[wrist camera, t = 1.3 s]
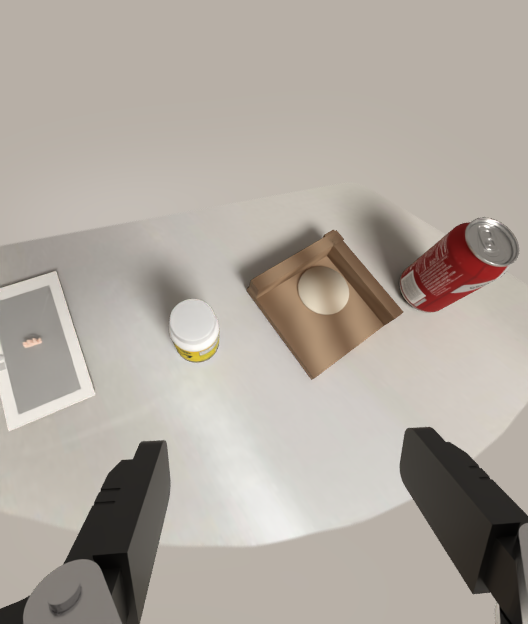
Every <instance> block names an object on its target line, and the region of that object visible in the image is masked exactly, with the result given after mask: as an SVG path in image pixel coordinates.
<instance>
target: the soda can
mask: <svg viewBox="0 0 528 624" xmlns="http://www.w3.org/2000/svg"><path fill="white" fill-rule="evenodd" d="M518 255H519V245H518V242H517V239H516V237H515V236H514V234H513V233H512V232H511V230H510V229H509V228H508V227H507V226H505V225H504V224H502V223H501V222H499V221H497V220H495V219H492V218H485V217H483V218H477V219H475V220H473V221H472V222H470V223H463V224H460V225H458V226H456V227H455V228H454V229H453V230H452V231H450V232H449V233H448V234H447V235H445V236H444V237H443V238H442V239H441V240H440V241H438V242H437V243H436V244H435V245H434V246H433V247H431V248H430V249H429V250H428V251H427V252H426V253H424V254H423V255H422V256H421V257H420V258H418V259H417V260H416V261H415V262H414V263H413V264H411V265H410V266H409V267H408V268H407V269H406V270H405V271H404V272H403V273H402V275H401V277H400V290H401V293H402V295H403V297H404V298H405V300H406V301H407V302H408V303H409V304H410V305H411V306H413V307H414V308H416V309H418V310H420V311H423V312H436V311H439V310H441V309H443V308H444V307H446V306H448V305H450V304H452V303H454V302H455V301H457V300H459V299H461V298H463V297H465V296H467V295H468V294H470V293H472V292H474V291H476V290H478V289H480V288H481V287H483V286H485V285H487V284H489V283H491V282H493V281H494V280H496V279H498V278H500V277H502V276H503V275H504V274H505V273H506V272H507V270H508V268H509V266H510V264H512V263H513V262H514V261H515V260H516V259H517V257H518Z"/></svg>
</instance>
